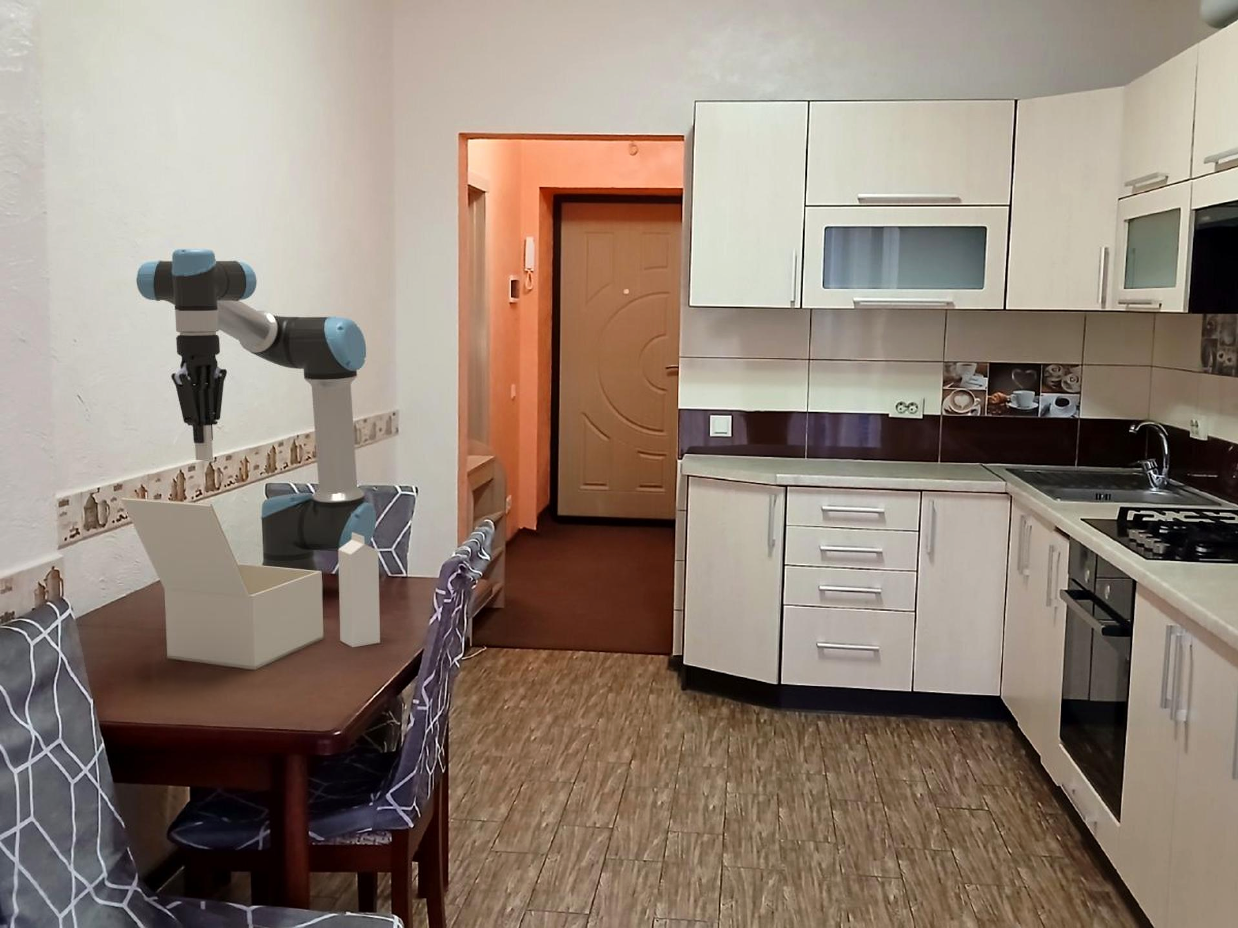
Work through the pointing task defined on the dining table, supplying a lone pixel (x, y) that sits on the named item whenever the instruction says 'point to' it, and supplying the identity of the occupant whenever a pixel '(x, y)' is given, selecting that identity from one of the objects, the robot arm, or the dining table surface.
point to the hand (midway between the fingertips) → (204, 459)
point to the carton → (246, 619)
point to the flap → (186, 545)
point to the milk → (359, 593)
